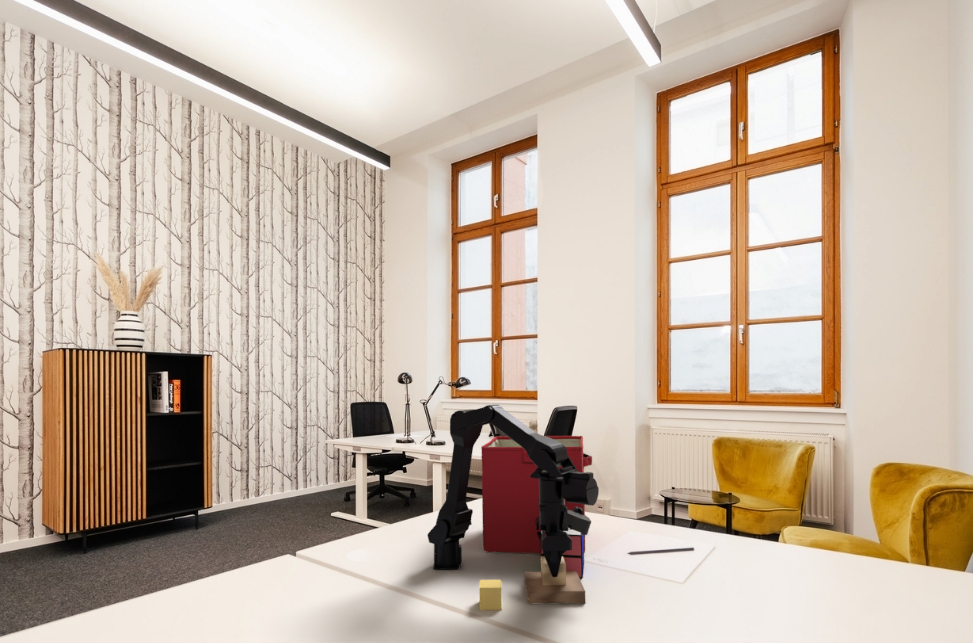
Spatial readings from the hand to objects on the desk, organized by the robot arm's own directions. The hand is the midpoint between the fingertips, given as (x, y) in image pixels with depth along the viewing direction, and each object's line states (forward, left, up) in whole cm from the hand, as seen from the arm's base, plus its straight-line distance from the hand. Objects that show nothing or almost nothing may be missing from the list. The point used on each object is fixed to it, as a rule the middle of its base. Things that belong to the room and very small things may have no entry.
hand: (553, 571), depth 125 cm
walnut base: (0, 0, -4) cm, 4 cm away
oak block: (0, 0, -2) cm, 2 cm away
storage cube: (0, +39, -5) cm, 40 cm away
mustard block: (-14, -7, -5) cm, 16 cm away
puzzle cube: (+4, +14, -5) cm, 16 cm away
